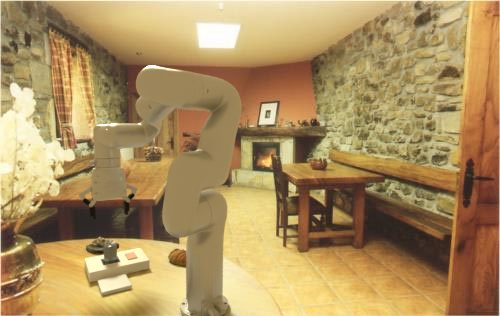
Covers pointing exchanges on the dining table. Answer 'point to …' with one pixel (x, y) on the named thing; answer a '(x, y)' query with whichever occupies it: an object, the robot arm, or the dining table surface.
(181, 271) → the dining table surface
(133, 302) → the dining table surface
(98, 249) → the grey rounded lumpy piece
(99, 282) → the pad
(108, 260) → the peg
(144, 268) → the board
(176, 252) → the pastry
